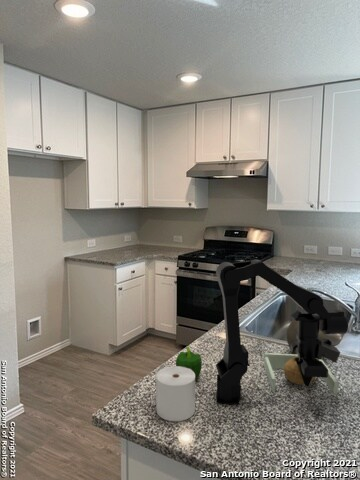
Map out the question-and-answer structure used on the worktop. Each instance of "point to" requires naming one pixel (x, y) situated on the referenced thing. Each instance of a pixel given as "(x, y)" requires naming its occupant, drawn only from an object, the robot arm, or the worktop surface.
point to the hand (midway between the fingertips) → (306, 385)
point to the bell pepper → (190, 361)
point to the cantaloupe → (293, 331)
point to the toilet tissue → (175, 393)
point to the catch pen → (279, 362)
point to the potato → (293, 372)
